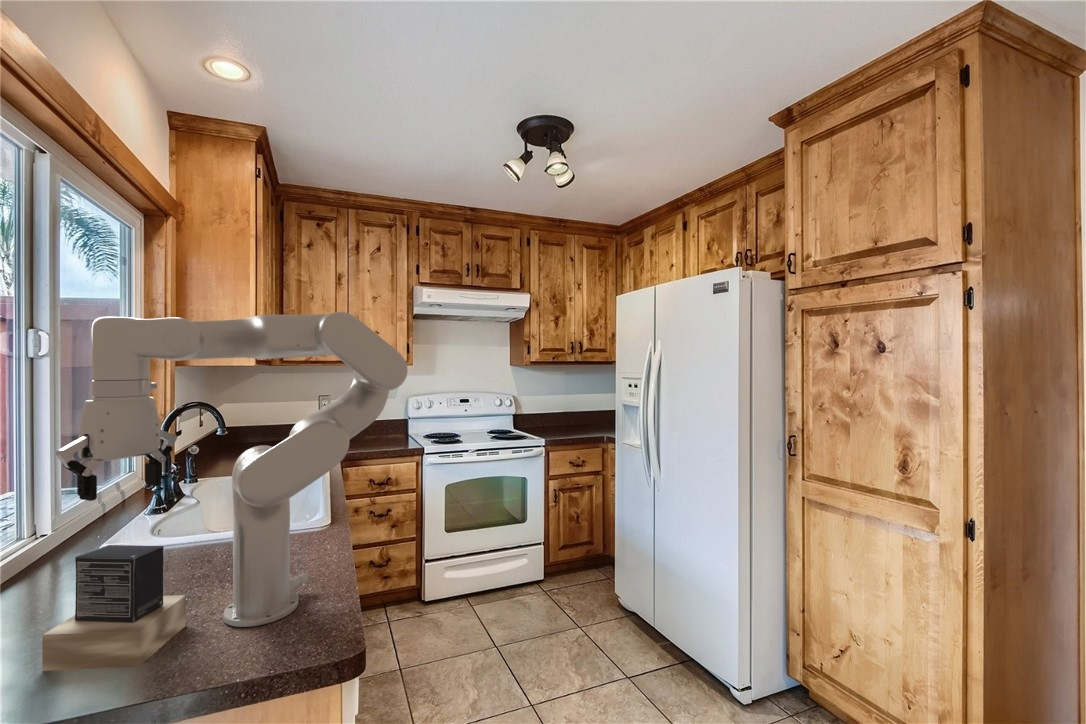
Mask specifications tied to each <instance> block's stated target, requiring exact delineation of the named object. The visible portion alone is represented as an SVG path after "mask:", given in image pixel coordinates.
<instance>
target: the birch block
mask: <svg viewBox="0 0 1086 724" xmlns="http://www.w3.org/2000/svg"><path fill="white" fill-rule="evenodd" d="M186 598H187V594H181V595H178V594H177V595H163V605H162V606H160V607H159V608H157V609H155V610H153V611H152V612H150V613H148V614H146V615H145V616H143V617H141V618H139V619H138V620H136V621H134V622H112V621H77V620H75V614H74V615H72V616H71V617H69V618H67V619H66V620H65V621H63V622H61V623H60V624H58V625H56V626H55V627H52V629H50V630H48V631H46V632H45V633H43V634H42V647H41V648H42V661H41V662H42V666H41V667H42V669H41V672H49V671H50V672H51V671H54V672H55V671H67V670H84V669H85V670H87V669H86V668H91V669H106V668H107V667H110V668H123V667H124V668H126V667H140V666H141V665H142V664H143V663H145V662H146V661H147V660H149V658H150V657H152V656H153V655H155V653H156V652H157V651H159V650H160V649H161V648H162V647H163V646H164V645H165V644H166V643H168V642H169V641H170V640H171V639H172V638H174V637H175V635H177V634H178V633H180V632H181V631H182V630H183V628H186V626H187V624H186V622H187V620H186V619H187V617H186V616H187V606H186V605H187V599H186ZM167 641H168V642H167ZM159 648H160V649H159ZM104 667H105V668H104Z"/></svg>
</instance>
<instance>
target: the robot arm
mask: <svg viewBox="0 0 1086 724" xmlns="http://www.w3.org/2000/svg"><path fill="white" fill-rule="evenodd" d="M324 356H326V357H328V356H335V357H337V358H338V359H339V360H340V361H341V362H342V363H344V364H345V365H346V366H348V367H349V368H350V369H352V370H353V379H352V383H351V386H350V387H349V388H348V389H347V391H346V392H344V393H343V394H342V395H340V396H339V397H337V398H336V399H334V400H333V401H331V402H330V403H328V404H326V405H325V406H323V407H322V408H320V409H318V410H317V411H315V412H313V413H312V414H309V415H308V416H306V417H304V418H302V419H300V420H299V421H298V422H296V423H295V424H294V425H293V426H292V429H291V430H290V432H289V435H288V437H286V438H285V439H283V440H282V441H281V442H279V443H277V444H276V445H274V446H271V445H262V444H261V445H257V446H256V445H255V446H253V447H250V448H248V449H245V451H243V452H242V453H241V454H240V455H239V456H238V457H237V459H236V460H235V462H234V464H233V467H232V473H231V474H232V475H231V485H232V510H233V511H232V514H233V515H232V517H233V518H232V520H233V521H232V523H233V526H232V527H233V528H232V529H233V533H232V603H230V604H229V605H227V607H226V608H225V609H224V610H223V613H222V615H223V616H222V617H223V622H224V623H225V624H227V625H229V626H232V627H237V628H248V627H249V628H251V627H257V626H258V627H259V626H262V625H267V624H270V623H273V622H276V621H278V620H280V619H283V618H285V617H287V616H288V615H290V614H291V613H292V612H294V611H295V610H296V609H297V607H298V606H299V596H298V595H297V593H296V592H295V590H296V589H297V588H298V586H301V585H303V584H305V583H307V582H308V581H309V575H308V573H306V572H302V573H301V574H299V575H297V576H295V577H294V576H293V575H292V574H290V570H291V569H290V567H291V566H290V565H291V562H290V561H291V559H290V557H291V556H290V555H291V554H290V553H291V549H290V548H291V547H290V543H291V541H290V539H291V537H290V535H291V534H290V533H291V532H290V531H291V530H290V529H291V528H290V527H291V505H290V504H291V503H290V498H292V497H294V496H295V495H297V494H298V493H300V492H302V491H303V490H304V489H305V488H307V487H309V486H310V485H312V484H313V483H315V482H316V481H317V480H319V479H321V478H322V477H323V476H325V475H326V474H327V473H329V472H330V471H332V470H333V469H334V468H335V467H336V466H338V465H339V464H340V463H341V462H342V461H343V459H345V457H346V455H347V453H348V451H349V448H350V440H352V439H353V438H354V437H355V436H357V435H358V434H360V433H361V432H362V431H363V430H365V429H366V428H368V427H369V426H370V425H371V424H372V423H374V422H375V421H376V420H377V419H378V418H379V416H380V415H381V413H383V411H384V408H385V407H386V404H387V401H388V398H389V394H390V391H393V390H396V389H398V388H399V387H400V386H401V385H403V383H404V382H405V381H406V379H407V376H408V372H409V371H408V365H407V361H406V359H405V358H404V356H403V355H402V354H401V353H400V352H399V351H398V350H397V349H396V348H395V347H393V346H392V345H391V344H389V343H388V342H387V341H386V340H385V339H383V338H382V337H381V336H380V335H378V334H377V332H376V331H373V329H371V328H370V327H369V326H368V325H366V324H365V323H364V322H363V321H361V320H360V319H359V318H357V316H355V315H353V314H351V313H350V312H349V313H348V312H346V311H336V312H332V313H327V314H326V313H325V314H324V313H323V314H320V313H318V314H315V313H312V314H262V315H254V316H249V317H245V318H239V319H227V320H225V319H224V320H221V319H220V320H189V319H187V318H184V317H176V316H175V317H160V318H138V317H128V316H101V317H98V318H96V319H94V321H92V325H91V380H92V381H91V399H86V400H85V402H84V405H83V408H82V413H81V416H80V423H79V429H78V430H79V431H78V437H77V439H75V440H73V441H72V442H70V443H68V444H67V445H65V446H63V447H61V448H60V449H58V450H57V451H56V452H55V456H56V457H57V459H58V460H59V461H60V462H61V463H62V465H63V467H64V468H65V469H66V470H68V471H70V472H71V473H72V474H73V475H75V476H76V488H77V489H76V490H77V491H76V492H77V495H78V497H79V500H82V501H88V502H93V501H96V499H98V498H97V497H98V493H97V492H98V479H97V478H98V476H97V475H96V474H93V473H94V472H95V471H96V469H98V468H99V466H100V465H101V464H102V463H103V462H109V461H116V460H121V459H122V460H124V459H129V458H134V457H141V456H143V457H145V458H146V459H147V460H148V461H147V462H145V464H144V481H145V482H144V484H145V485H147V486H150V487H151V486H154V487H158V486H161V485H162V479H163V463H165V462H166V460H167V457H168V456H169V455H170V454H171V452H172V451H173V447H174V446H175V444H176V442H177V440H178V435H176V434H174V433H171V432H168V431H166V430H163V429H160V428H161V427H160V419H159V413H158V408H157V404H156V401H155V399H154V397H153V396H151V394H152V391H156V390H157V389H158V384H157V383H156V382H152V379H151V359H157V360H158V359H159V360H167V361H174V362H177V361H178V362H181V361H193V360H196V361H197V360H214V359H240V358H241V359H242V358H243V359H254V360H264V359H265V360H266V359H271V360H272V359H285V358H287V359H288V358H290V359H291V358H304V357H305V358H307V357H324ZM161 440H163V443H162V445H161ZM160 445H161V446H160ZM75 453H77V455H78V457H79V459H81V461H80V462H79V461H77V460H76V458H75V456H74V454H75Z"/></svg>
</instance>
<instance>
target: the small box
mask: <svg viewBox="0 0 1086 724" xmlns="http://www.w3.org/2000/svg"><path fill="white" fill-rule="evenodd" d="M164 548H165V547H164V545H136V544H135V545H130V544H129V545H125V544H124V545H123V544H122V545H121V544H107V545H105V546H102V547H100V548H97V549H94V550H91V551H89V552H88V551H87V552H85V553H83V554H80V555H78V556H75V560H74V561H75V609H74V610H75V612H74V613H75V614H74V615H75V620H77V621H112V622H134V621H136V620H138V619H139V618H141V617H143V616H145V615H146V614H148V613H150V612H152V611H153V610H155V609H157V608H159V607H160V606H162V605H163V596H164Z"/></svg>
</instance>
